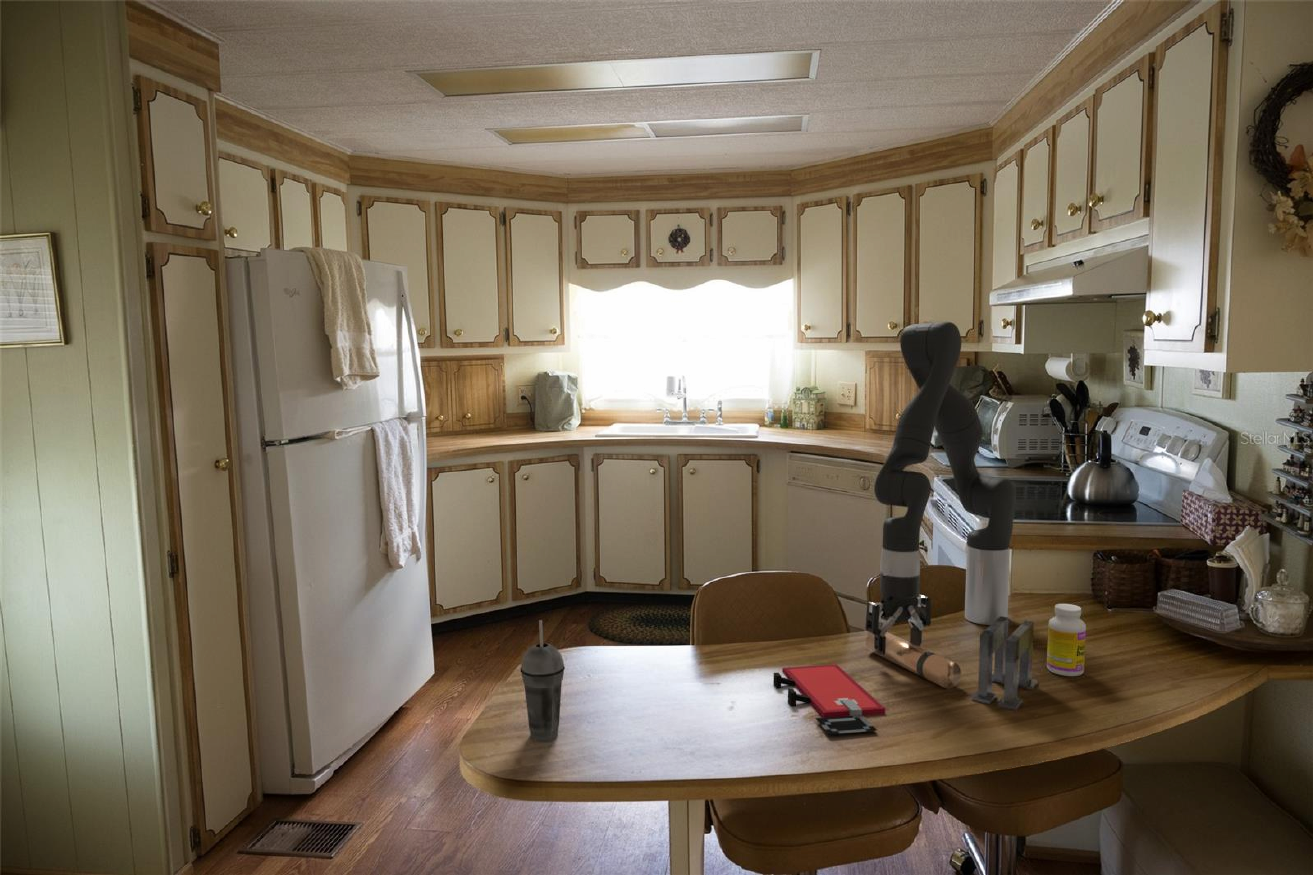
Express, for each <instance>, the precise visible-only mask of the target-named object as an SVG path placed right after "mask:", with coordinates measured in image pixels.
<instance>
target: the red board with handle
mask: <svg viewBox="0 0 1313 875" xmlns="http://www.w3.org/2000/svg"><path fill="white" fill-rule="evenodd" d="M782 673H783V674H784V675H785V677H782V674H780V672H773V681H772V683H773V686H774V688H775V689H781V688H782V685H788V686H791V687H795V688H796V689H797V690H798V691H799V692H800V693H797V692H796V690H795V689H794V688H787V703H788V705H789V706H790V707H791V708H792V707H793V708H794V707H797V702H801V703H807V704H810V705H811V706H812V707H813V708H814V709H815V710H816V711H817V712H818V714H819V715H820V716H821V717H815V720H816V721H817V722H818V723H819V725H821V727H822V728H823V729H824V730H825V732H827V734H829V735H835V734H836V735H837V734H851V733H862V732H876V731H879V730H878V729H877V728H876V727H875V726H874V725H873V724H872V723H871V722H870V721H869V720H867V718H866V717H865V716H869V715H871V716H873V715H881V714H882V715H885V714H886V708H885V707H884V706H883V705H882V704H881V703H880V702H879V701H878V700H877V699H875V698H874V697H873V696H872V695H871V694H870V693H869V692H868V691H867V690H866V689H864V688H863V687H862V685H860V684H859V683H858V682H856V680H854V679H853V678H852V677H851V676H850V675H849V674H848V673H847V671H845V670H844V669H843V668H841V667H840V666H839V665H838V664H825V665H823V664H822V665H807V666H805V665H804V666H792V667H791V666H789V667H788V666H787V667H782Z"/></svg>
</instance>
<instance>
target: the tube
mask: <svg viewBox="0 0 1313 875" xmlns="http://www.w3.org/2000/svg"><path fill="white" fill-rule="evenodd" d="M885 636H886V651H885V654H882V655H881V654H879V653H877V652H876V650H875V649H874V634H872V633H870V632H868V633H867V636H866V638H865V645H866V648H867V649H868V651H869V652H872V653H874V654H876V655H877V656H880V657H882V658H884V659H886V660H888V661H890V662H892V663H894V664H896V665H898V666H899V667H902V668H904V669H906V670H908V671H910V672H912V673H914V674H916V675H918V676H920V677H922V678H923V679H926V680H928V681H930V682H932V683H934V684H936V685H938V686H939V687H941V688H944V689H947V690H950V689H953V688H954V687H956V686H957V684H958V683H959V681H960V680H961V677H962V676H961V675H962V671H961V667H960V665H959V664H958V663H956V662H954V661H952V660H950V659H947V658H946V657H943V656H941V655H939V654H937V653H935V652H933V651H930V650H928V649H926V648H923V647H921V646H920V647H919V646H917V645H915V644H912V643H910V641H907V640H906V639H903V638H902V637H899V636H897V635H895V634H892V633H890V632H888V631H887V632H886V634H885Z"/></svg>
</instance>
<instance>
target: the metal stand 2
mask: <svg viewBox="0 0 1313 875" xmlns="http://www.w3.org/2000/svg"><path fill="white" fill-rule="evenodd" d="M1033 648H1034V621H1031V620H1024V621H1023V622H1022V623H1021V624H1020V625H1019V626H1018V627H1017V628H1016V629H1015V630H1014V631H1013V632H1012V633H1011V634H1010V635H1008V638H1007V639H1006V657H1005V684H1004V685H1003V686H1004V690H1003V691H1004V692H1003V696H1002V697H1001V698H1000V699H999V700H998V701H997V703H996V704H997V707H999V708H1005V709H1010V710H1014V711H1017V710H1018V708H1020V706H1022V704H1023V699H1022V698H1018V692H1019V691H1018V688H1021V689H1026V690H1028V691H1030V690H1031V691H1033V690H1034V689H1035V687H1036V686H1037V685H1038V679H1033V678H1032V674H1033V673H1032V671H1033Z"/></svg>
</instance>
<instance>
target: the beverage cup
mask: <svg viewBox="0 0 1313 875" xmlns="http://www.w3.org/2000/svg"><path fill="white" fill-rule="evenodd" d="M538 625H539V627H538V628H539V643H537V644H534V645H533V646H531V647H529V648H528V649H527V651H526V652H525V653H524V654H523V657H522V660H521V664H520V665H521V666H520V673H521V678H522V683H523V684H524V694H525V702H526V710H527V711H526V712H527V719H528V728H529V734H530V738H531V740H533V741H535V742H541V743H543V742H549V741H553V740H555V739H557V738H558V735H559V727H560V717H561V716H560V713H561V697H562V682H563V679H564V672H565V669H566V668H565V663H564V659H563V655H562V654H561V652H560V651H559V649H558V648H557V647H555V646H554V645H552V644H550V643H545V642H544V633H543V632H544V631H543V627H544V626H543V620H542V619H540V620H539V621H538Z"/></svg>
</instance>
